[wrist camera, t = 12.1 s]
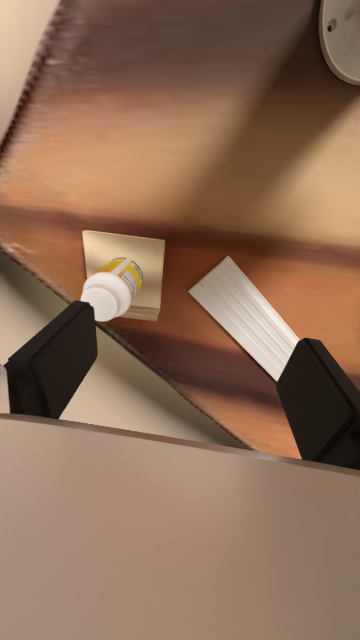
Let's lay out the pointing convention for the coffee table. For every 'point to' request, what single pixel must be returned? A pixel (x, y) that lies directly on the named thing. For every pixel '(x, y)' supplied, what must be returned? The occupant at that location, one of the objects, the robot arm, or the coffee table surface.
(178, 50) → the coffee table surface
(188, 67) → the coffee table surface
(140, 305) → the shelf
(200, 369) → the coffee table surface
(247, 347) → the baseboard
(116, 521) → the robot arm
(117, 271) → the supplement bottle
